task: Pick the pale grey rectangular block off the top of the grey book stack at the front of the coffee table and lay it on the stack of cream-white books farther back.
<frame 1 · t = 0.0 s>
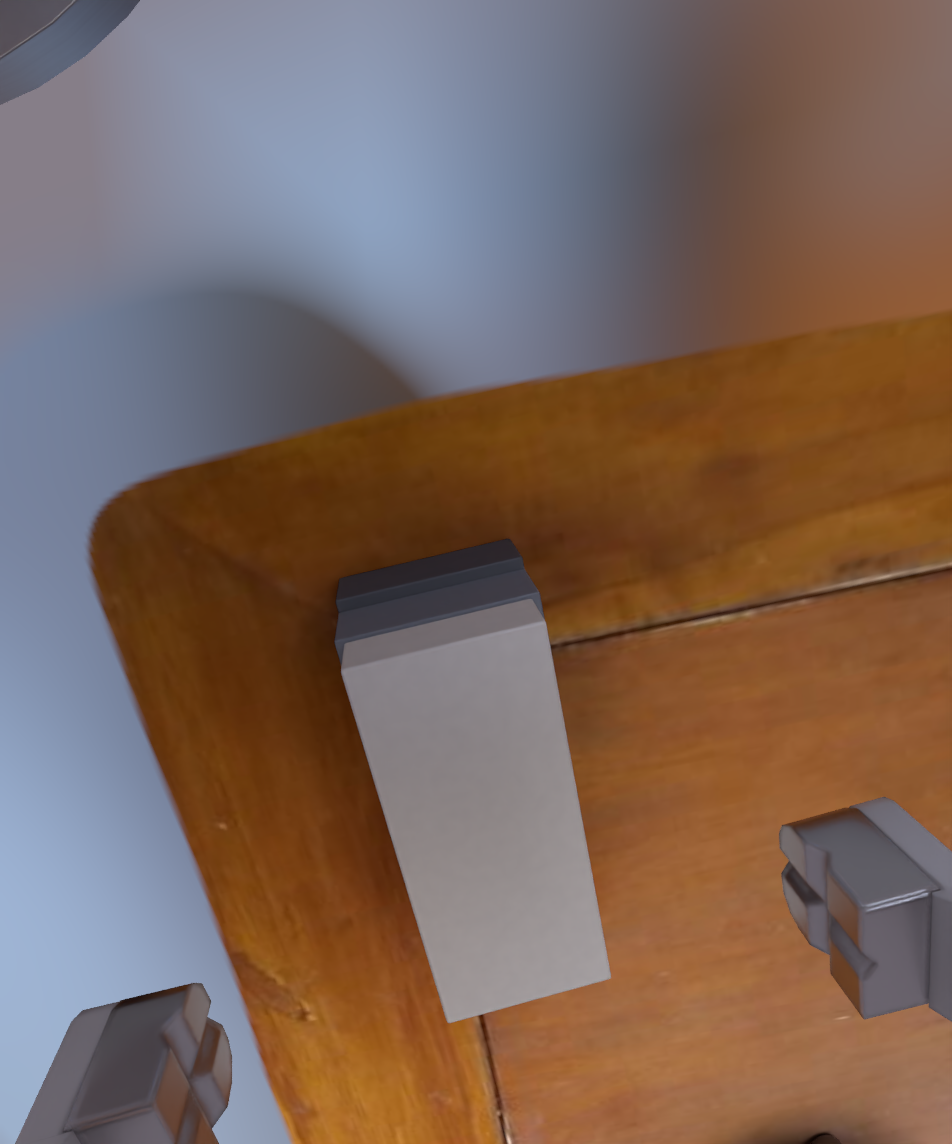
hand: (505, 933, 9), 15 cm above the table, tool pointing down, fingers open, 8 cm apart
pale grey rectangular block: (483, 804, 22), point 4 cm above the table, touching grey books
grey books: (466, 730, 26), on the table
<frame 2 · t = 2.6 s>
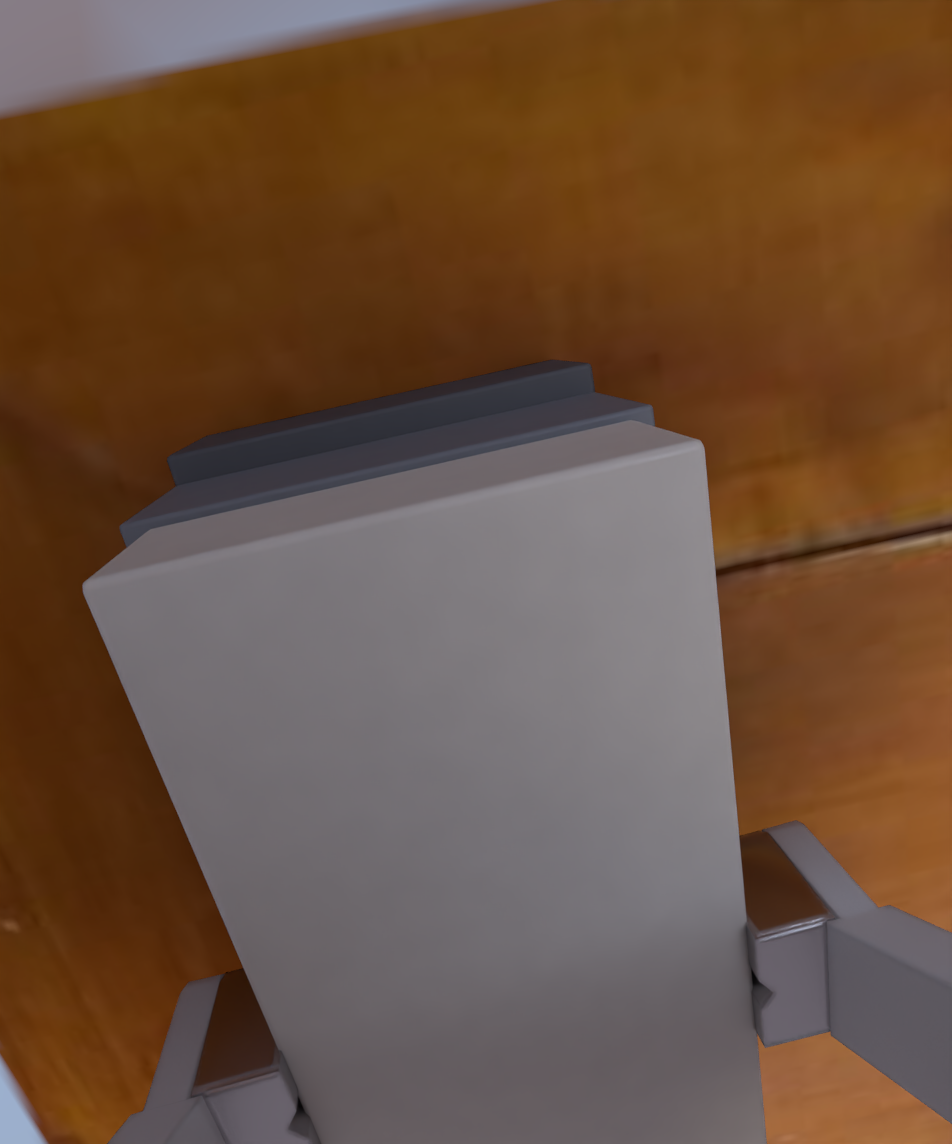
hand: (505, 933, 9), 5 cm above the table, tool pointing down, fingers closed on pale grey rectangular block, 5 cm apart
pale grey rectangular block: (505, 918, 10), point 4 cm above the table, touching grey books, gripper
grey books: (466, 746, 14), on the table
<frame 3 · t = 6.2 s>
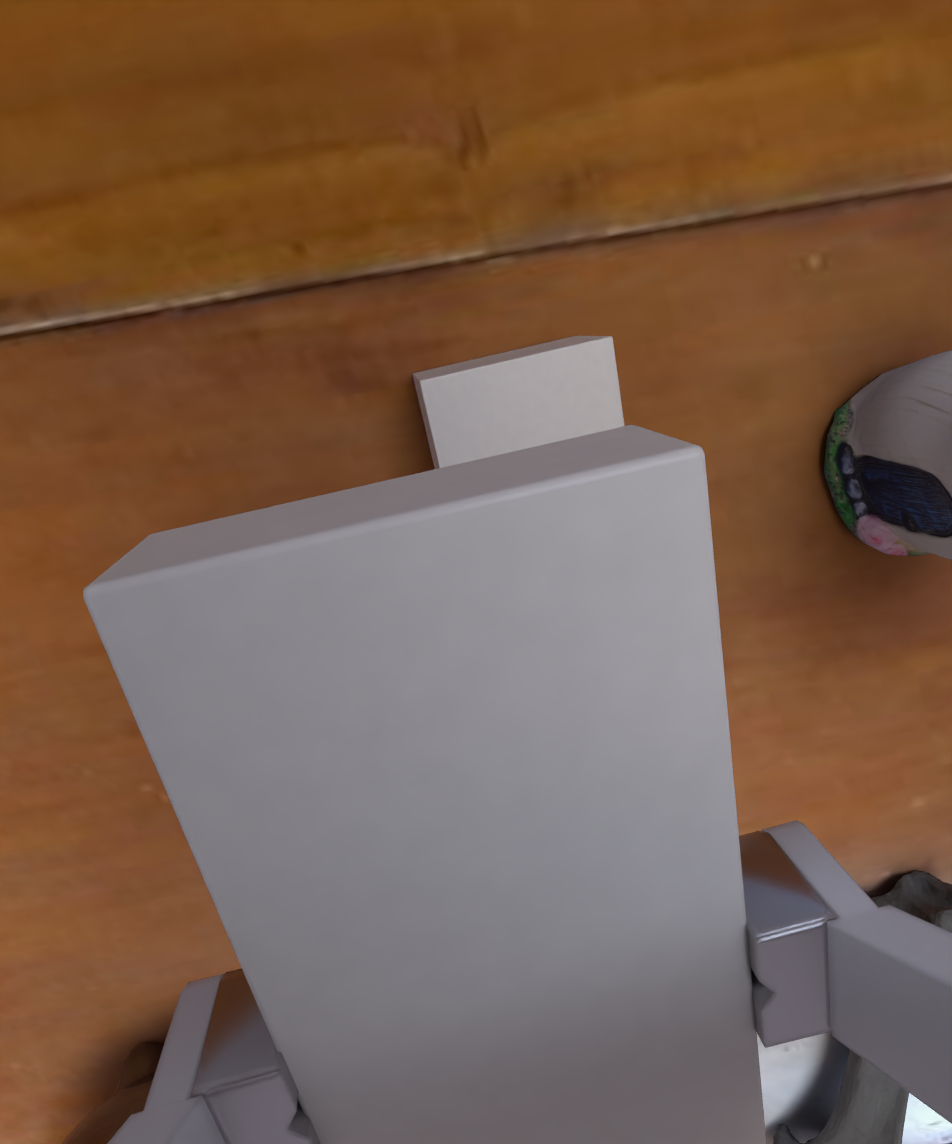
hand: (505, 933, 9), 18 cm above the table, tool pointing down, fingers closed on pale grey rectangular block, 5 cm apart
pale grey rectangular block: (505, 922, 10), point 18 cm above the table, touching gripper
piggy bank: (220, 1072, 34), on the table
white books: (530, 538, 27), on the table
decorative ornament: (887, 448, 28), on the table
bone: (837, 1015, 39), on the table
when the fingers open (4 cm above the table, at t = 10.0 s): pale grey rectangular block stays where it is, resting on white books.
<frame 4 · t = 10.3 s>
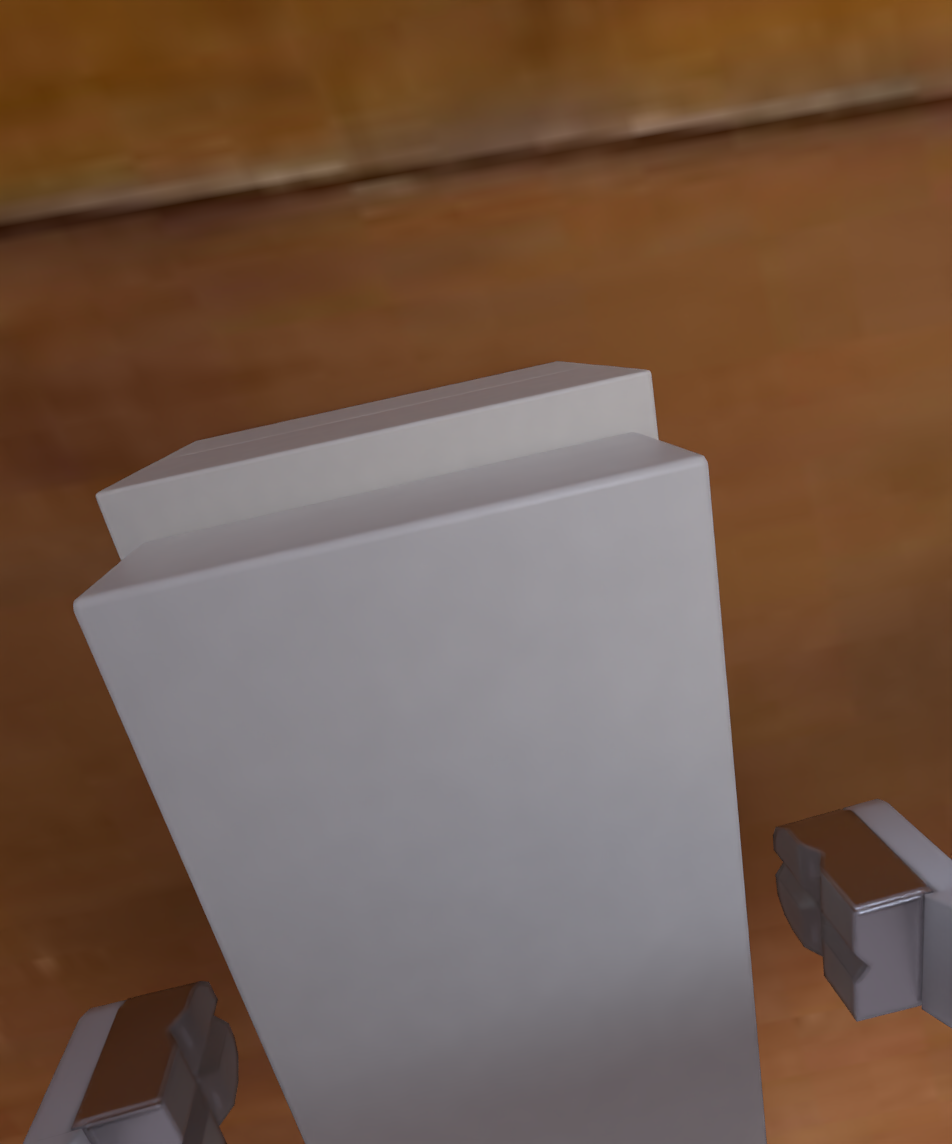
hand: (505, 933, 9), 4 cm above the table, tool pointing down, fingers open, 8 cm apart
pale grey rectangular block: (503, 933, 10), point 4 cm above the table, touching white books
white books: (468, 763, 13), on the table
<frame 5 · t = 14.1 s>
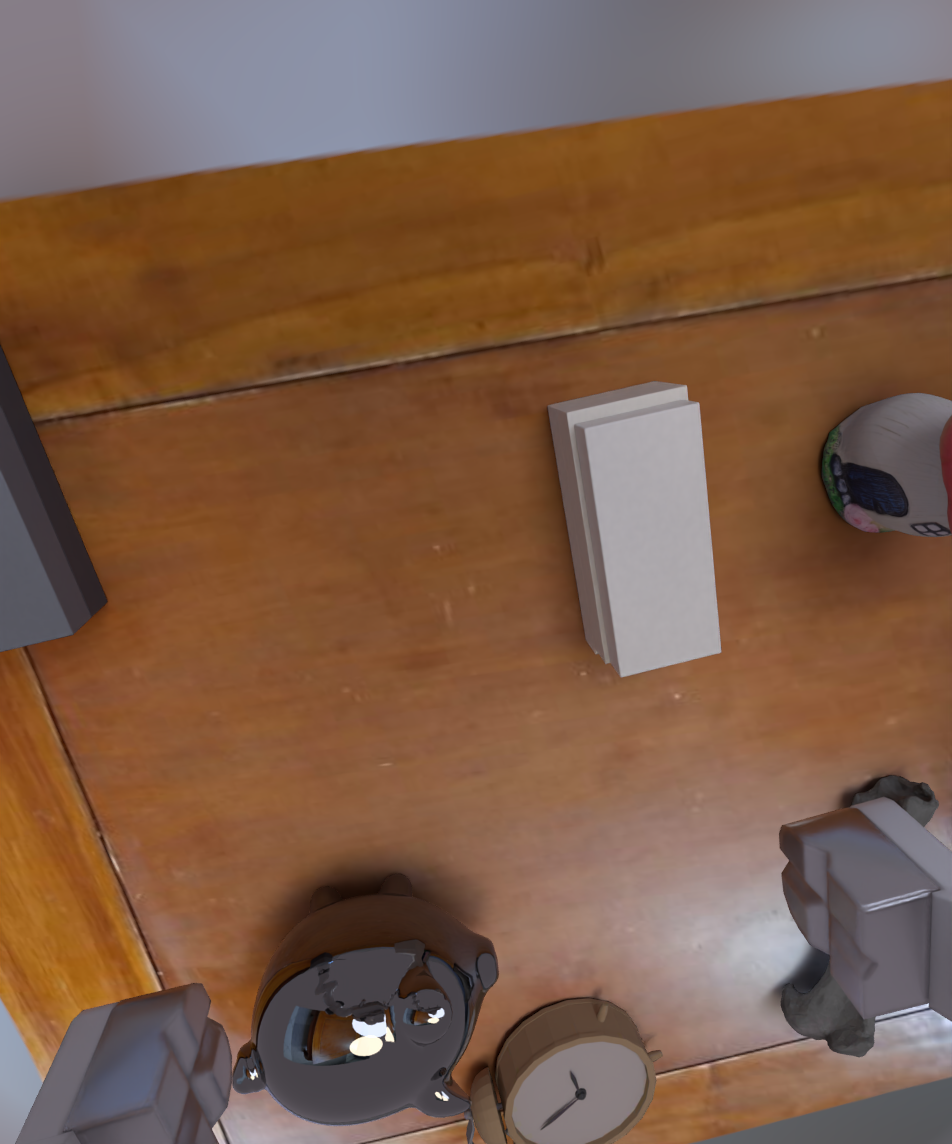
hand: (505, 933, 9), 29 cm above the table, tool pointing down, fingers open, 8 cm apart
pale grey rectangular block: (644, 538, 35), point 4 cm above the table, touching white books
alarm clock: (549, 1063, 52), on the table
piggy bank: (373, 914, 46), on the table
white books: (618, 518, 39), on the table
decorative ornament: (865, 458, 40), on the table
bone: (832, 893, 50), on the table
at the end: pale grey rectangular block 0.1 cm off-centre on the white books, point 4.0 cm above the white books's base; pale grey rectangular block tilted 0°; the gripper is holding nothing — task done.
